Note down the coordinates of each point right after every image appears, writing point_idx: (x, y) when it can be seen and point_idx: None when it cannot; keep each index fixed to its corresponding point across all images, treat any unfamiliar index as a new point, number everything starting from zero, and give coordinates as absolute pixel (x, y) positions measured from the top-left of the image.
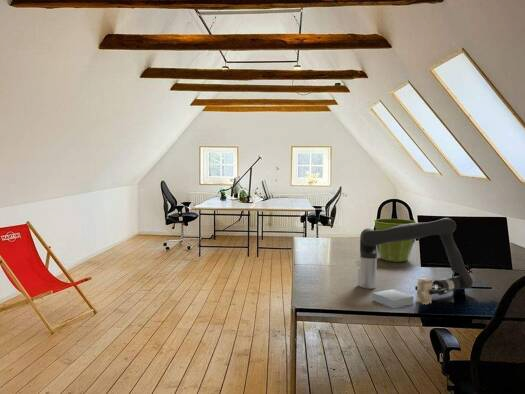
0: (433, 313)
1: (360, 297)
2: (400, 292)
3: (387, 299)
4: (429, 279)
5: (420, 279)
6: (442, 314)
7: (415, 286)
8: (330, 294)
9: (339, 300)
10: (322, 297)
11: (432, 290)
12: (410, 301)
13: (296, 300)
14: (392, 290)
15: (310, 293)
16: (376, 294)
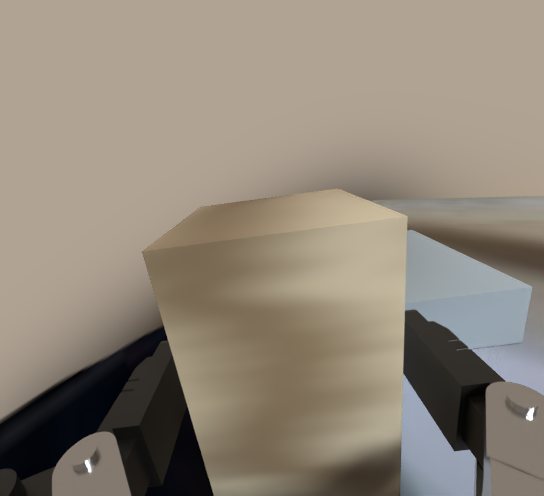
0: (115, 367)
1: (460, 250)
2: (420, 294)
3: None
4: (221, 236)
5: (301, 195)
6: (50, 401)
7: (433, 323)
8: (488, 219)
9: (414, 224)
10: (446, 212)
11: (148, 370)
12: None
13: (415, 199)
14: (481, 279)
15: (488, 205)
16: None
